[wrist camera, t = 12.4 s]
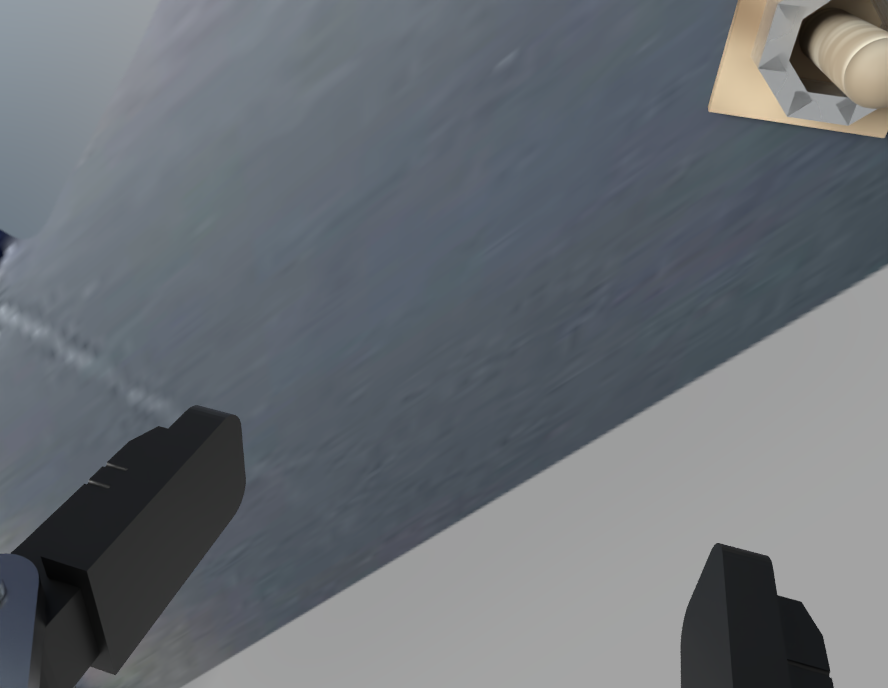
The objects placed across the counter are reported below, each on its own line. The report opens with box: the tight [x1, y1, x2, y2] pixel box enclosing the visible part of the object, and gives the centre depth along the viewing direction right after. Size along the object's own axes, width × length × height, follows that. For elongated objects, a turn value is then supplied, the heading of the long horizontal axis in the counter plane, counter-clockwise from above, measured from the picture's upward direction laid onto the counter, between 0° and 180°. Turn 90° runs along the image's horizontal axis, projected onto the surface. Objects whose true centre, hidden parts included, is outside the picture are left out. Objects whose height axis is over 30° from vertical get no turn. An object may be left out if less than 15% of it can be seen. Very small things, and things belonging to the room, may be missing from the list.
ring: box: [750, 0, 888, 126], centre depth 30 cm, size 6×6×4 cm
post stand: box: [708, 0, 888, 138], centre depth 27 cm, size 8×8×12 cm
